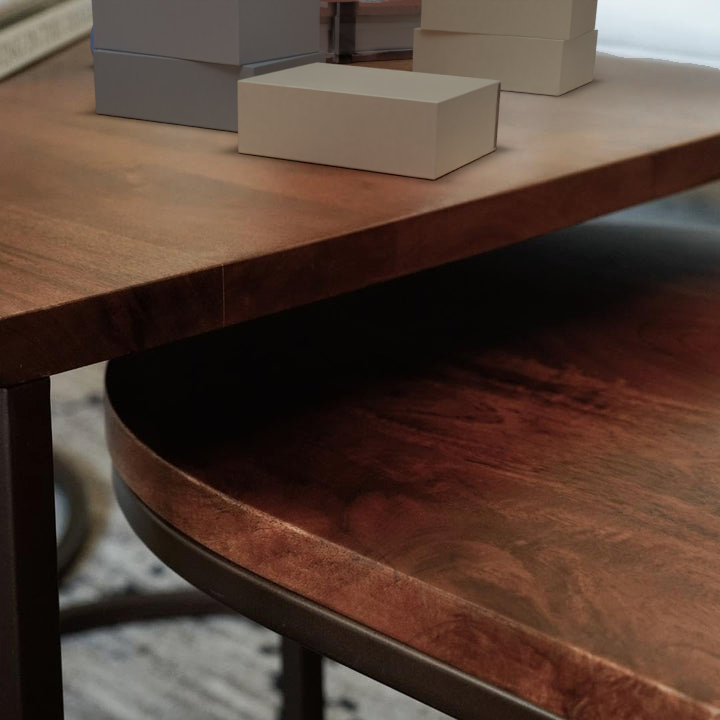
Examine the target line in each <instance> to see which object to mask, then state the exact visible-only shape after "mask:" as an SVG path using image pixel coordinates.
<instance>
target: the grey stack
mask: <svg viewBox="0 0 720 720" xmlns="http://www.w3.org/2000/svg"><path fill="white" fill-rule="evenodd" d="M91 13H92V15H91V16H92V26H93V34H94V48H96V49H98V50H93V54H92V65H93V81H94V82H93V83H94V97H95V98H94V99H95V113H96V114H98V115H105V116H113V117H119V118H127V119H136V120H142V121H149V122H150V121H151V122H159V123H166V124H174V125H182V126H189V127H197V128H205V129H211V130H220V131H227V132H235V133H238V85H237V82H238V80H242V79H246V78H251V77H255V76H260V75H264V74H268V73H273V72H277V71H281V70H286V69H290V68H295V67H299V66H303V65H308V64H312V63H316V62H318V63H326V52H325V51H319V26H320V0H91Z"/></svg>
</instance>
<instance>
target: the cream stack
mask: <svg viewBox="0 0 720 720" xmlns="http://www.w3.org/2000/svg"><path fill="white" fill-rule="evenodd" d="M598 3H599V2H598V0H422V7H421V27H419V28H415V29H414V42H413V58H412V70H411V72H420V73H430V74H440V75H450V76H460V77H471V78H481V79H491V80H499V81H500V82H501V90H500V91H506V92H515V93H525V94H535V95H546V96H556V97H559V96H562V95H563V94H567V93H568V92H570V91H573V90H576V89H578V88H580V87H582V86H584V85H587V84H589V83H592V82H593V81H594V75H595V66H596V57H597V56H596V54H597V45H598V35H599V34H598V33H599V30H598V29H596V21H597V12H598V11H597V9H598Z"/></svg>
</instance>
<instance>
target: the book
mask: <svg viewBox="0 0 720 720" xmlns="http://www.w3.org/2000/svg"><path fill="white" fill-rule="evenodd" d="M421 7H422V0H320V26H319V51H325V52H326V63H328V64H350V63H351V64H352V63H353V62H355V63H356V62H372V61H388V60H406V59H407V60H408V59H413V42H414V29H415V28H419V27H421Z"/></svg>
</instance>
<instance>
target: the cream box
mask: <svg viewBox="0 0 720 720" xmlns="http://www.w3.org/2000/svg"><path fill="white" fill-rule="evenodd" d="M237 85H238V132H237V141H238V142H237V150H238V151H237V152H238V153H239V154H246V155H253V156H260V157H266V158H267V157H268V158H275V159H282V160H289V161H296V162H304V163H310V164H319V165H325V166H330V167H331V166H333V167H339V168H346V169H354V170H361V171H368V172H376V173H382V174H389V175H397V176H405V177H410V178H411V177H412V178H418V179H426V180H436V179H438V178H440V177H442V176H445V175H446V174H449V173H451V172H453V171H455V170H457V169H459V168H461V167H463V166H466V165H467V164H469V163H471V162H473V161H475V160H477V159H480V158H482V157H484V156H486V155H488V154H490V153H493V152H494V151H496V149H497V146H498V145H497V144H498V133H499V132H498V131H499V116H500V103H501V102H500V101H501V91H502V90H501V82H500V81H499V80H491V79H481V78H471V77H460V76H450V75H440V74H430V73H420V72H412V71H407V70H399V69H398V70H396V69H387V68H380V67H379V68H378V67H368V66H367V67H366V66H358V65H348V64H347V65H346V64H339V63H318V62H316V63H312V64H308V65H303V66H299V67H295V68H290V69H286V70H281V71H277V72H273V73H268V74H264V75H260V76H255V77H251V78H246V79H242V80H238V82H237Z"/></svg>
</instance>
